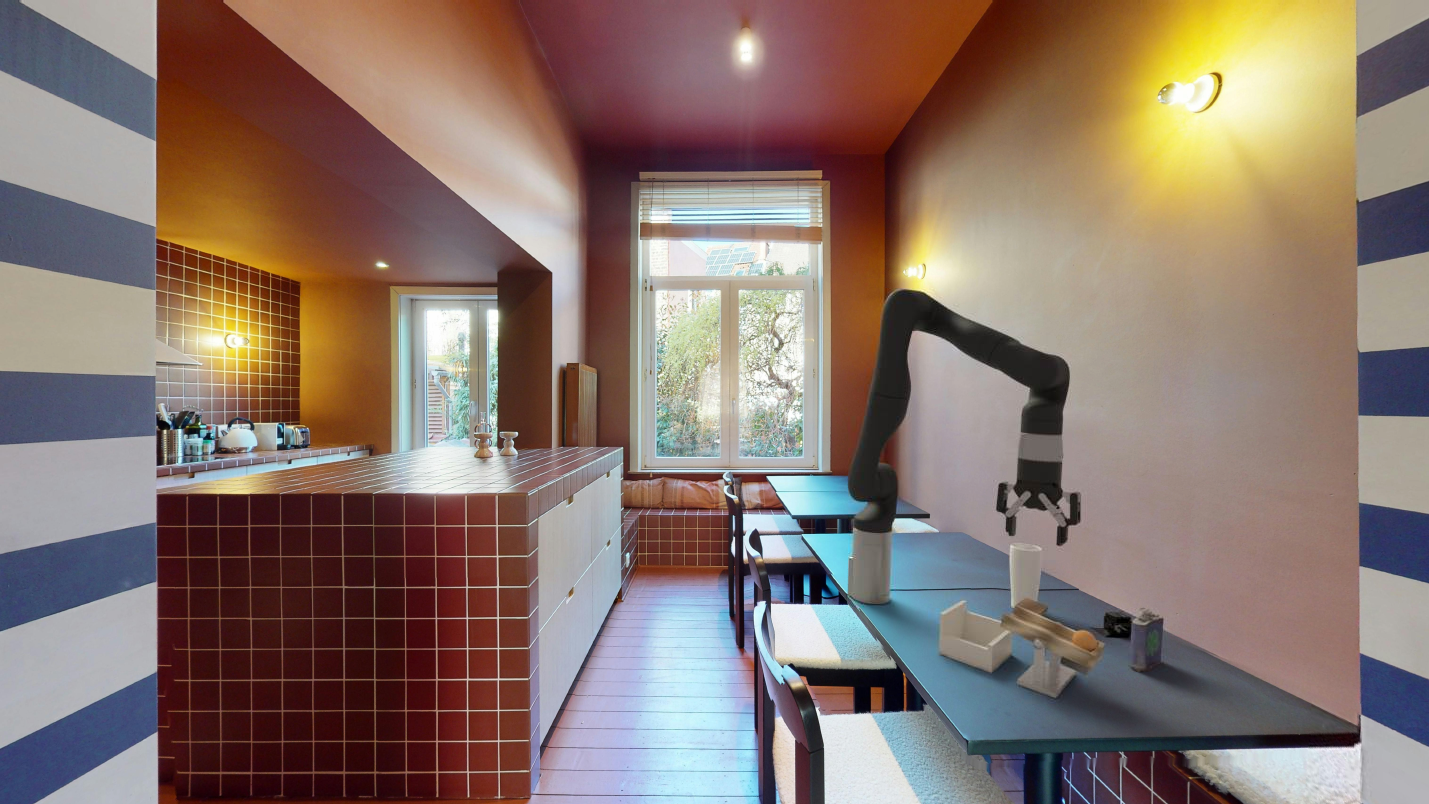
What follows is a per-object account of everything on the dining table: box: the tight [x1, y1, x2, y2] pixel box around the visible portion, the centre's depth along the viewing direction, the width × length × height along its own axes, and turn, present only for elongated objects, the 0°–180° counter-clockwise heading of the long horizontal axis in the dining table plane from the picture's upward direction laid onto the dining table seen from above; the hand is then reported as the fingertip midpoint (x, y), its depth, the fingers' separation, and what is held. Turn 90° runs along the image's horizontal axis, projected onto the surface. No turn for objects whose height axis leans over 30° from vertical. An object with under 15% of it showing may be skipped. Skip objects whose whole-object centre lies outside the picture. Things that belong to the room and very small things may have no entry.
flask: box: [1129, 607, 1164, 673], centre depth 108 cm, size 9×3×11 cm, turn 121°
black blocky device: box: [1088, 611, 1133, 639], centre depth 123 cm, size 12×7×5 cm, turn 92°
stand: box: [1016, 621, 1076, 699], centre depth 101 cm, size 6×12×9 cm, turn 134°
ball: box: [1073, 629, 1097, 652], centre depth 97 cm, size 4×4×4 cm
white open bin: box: [938, 600, 1014, 674], centre depth 110 cm, size 10×11×8 cm
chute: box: [1000, 597, 1106, 676], centre depth 103 cm, size 15×13×4 cm
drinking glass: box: [1009, 542, 1043, 609], centre depth 134 cm, size 7×7×15 cm
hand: (1035, 540), depth 110 cm, fingers open, 8 cm apart
